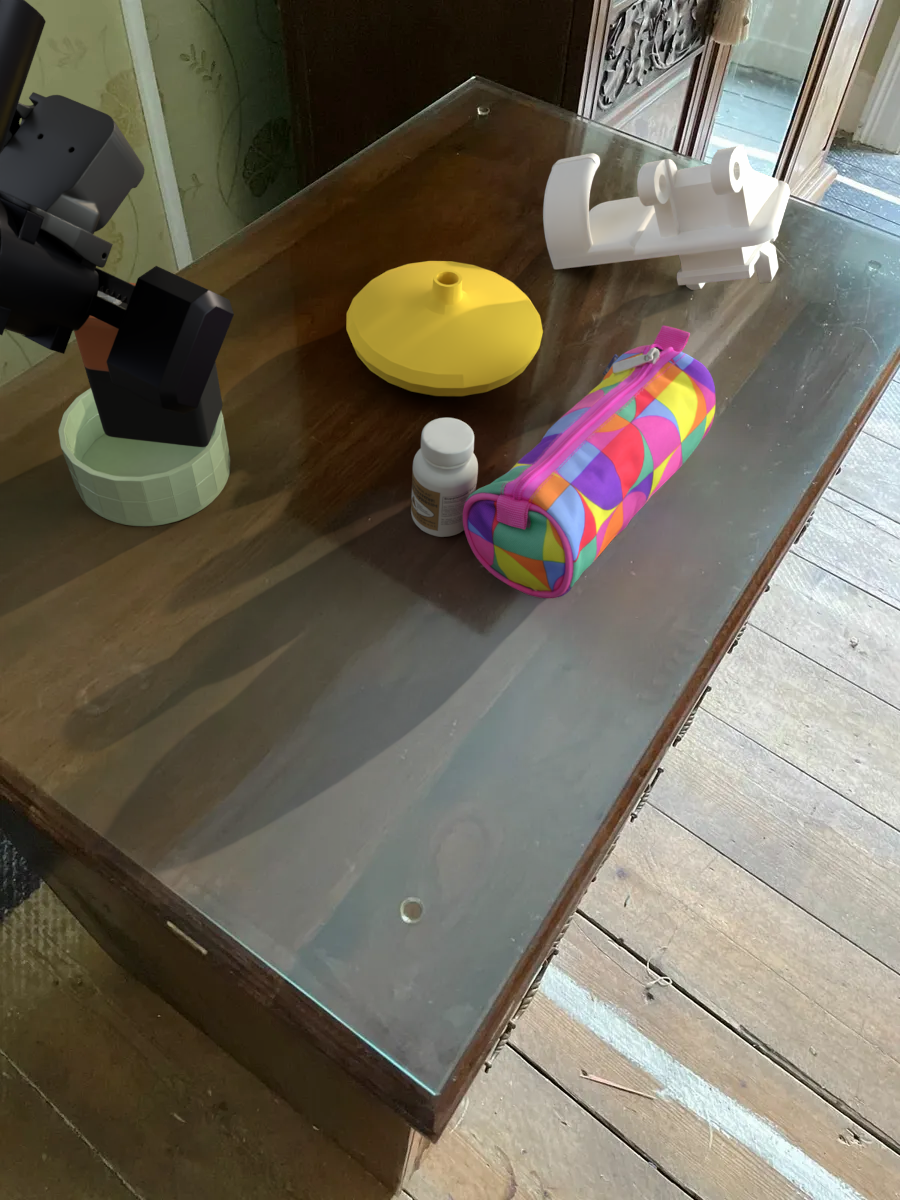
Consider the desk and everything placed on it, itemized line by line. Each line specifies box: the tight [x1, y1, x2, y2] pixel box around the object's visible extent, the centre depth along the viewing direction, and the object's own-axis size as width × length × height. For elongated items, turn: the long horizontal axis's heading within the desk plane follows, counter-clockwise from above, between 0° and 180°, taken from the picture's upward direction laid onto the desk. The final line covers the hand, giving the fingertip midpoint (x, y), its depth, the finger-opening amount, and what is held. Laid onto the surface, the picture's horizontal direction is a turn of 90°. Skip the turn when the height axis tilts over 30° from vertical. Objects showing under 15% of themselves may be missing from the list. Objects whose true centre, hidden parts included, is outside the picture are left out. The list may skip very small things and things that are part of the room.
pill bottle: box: [410, 417, 479, 538], centre depth 65 cm, size 4×4×8 cm
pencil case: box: [463, 324, 717, 599], centre depth 66 cm, size 22×9×9 cm, turn 145°
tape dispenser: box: [542, 145, 791, 291], centre depth 83 cm, size 20×11×13 cm, turn 61°
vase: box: [346, 260, 544, 397], centre depth 76 cm, size 16×16×7 cm
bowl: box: [57, 387, 231, 527], centre depth 67 cm, size 11×11×4 cm
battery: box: [73, 281, 223, 447], centre depth 58 cm, size 4×7×10 cm, turn 84°
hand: (161, 327), depth 58 cm, fingers closed on battery, 7 cm apart
